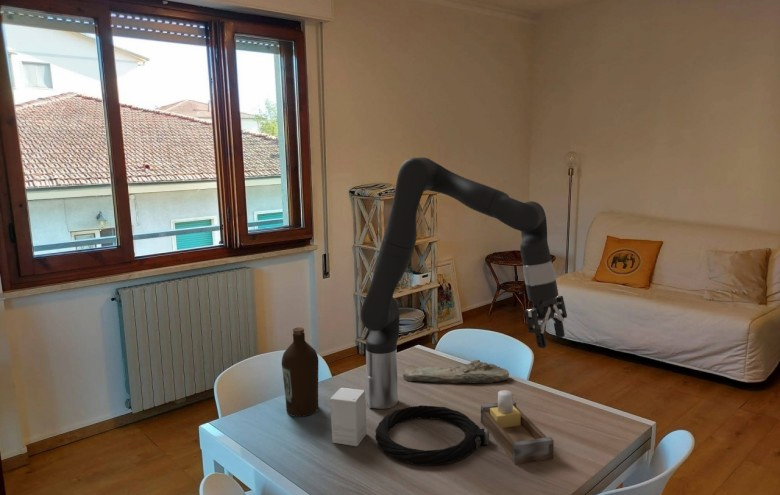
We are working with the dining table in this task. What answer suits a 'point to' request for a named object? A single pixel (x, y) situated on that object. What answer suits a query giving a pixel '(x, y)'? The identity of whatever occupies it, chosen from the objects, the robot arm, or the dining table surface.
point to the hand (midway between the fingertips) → (551, 341)
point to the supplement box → (348, 416)
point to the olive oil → (300, 376)
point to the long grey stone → (458, 373)
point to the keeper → (506, 410)
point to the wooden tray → (518, 438)
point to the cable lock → (430, 457)
